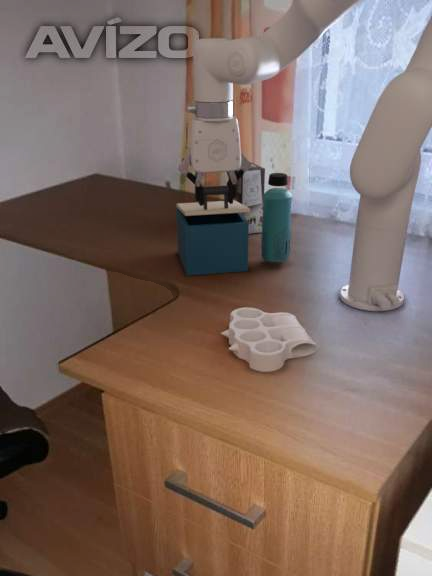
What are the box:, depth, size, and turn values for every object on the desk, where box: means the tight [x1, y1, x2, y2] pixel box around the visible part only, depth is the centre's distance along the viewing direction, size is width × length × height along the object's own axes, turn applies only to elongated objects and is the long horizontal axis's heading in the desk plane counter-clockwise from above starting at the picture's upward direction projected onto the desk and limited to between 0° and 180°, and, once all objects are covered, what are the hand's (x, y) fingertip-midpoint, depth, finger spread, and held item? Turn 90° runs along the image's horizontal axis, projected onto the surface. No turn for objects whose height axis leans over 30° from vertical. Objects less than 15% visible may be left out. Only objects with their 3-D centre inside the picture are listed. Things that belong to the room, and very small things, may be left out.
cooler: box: [176, 207, 250, 276], centre depth 138 cm, size 15×14×11 cm
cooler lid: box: [175, 185, 250, 216], centre depth 133 cm, size 16×14×5 cm
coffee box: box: [233, 161, 266, 235], centre depth 157 cm, size 9×6×16 cm
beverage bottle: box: [260, 172, 293, 263], centre depth 134 cm, size 6×7×20 cm
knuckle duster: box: [219, 307, 317, 373], centre depth 105 cm, size 3×18×15 cm
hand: (215, 202), depth 129 cm, fingers closed on cooler lid, 5 cm apart
